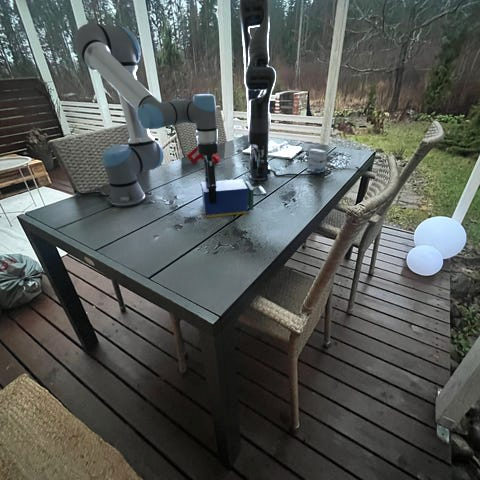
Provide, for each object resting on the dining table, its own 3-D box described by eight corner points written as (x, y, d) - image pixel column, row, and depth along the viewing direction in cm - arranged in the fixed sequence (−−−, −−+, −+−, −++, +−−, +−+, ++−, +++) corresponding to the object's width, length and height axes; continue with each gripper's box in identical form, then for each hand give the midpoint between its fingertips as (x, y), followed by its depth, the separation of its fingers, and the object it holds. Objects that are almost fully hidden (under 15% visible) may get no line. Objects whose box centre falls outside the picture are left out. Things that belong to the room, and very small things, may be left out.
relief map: (291, 159, 177) (291, 151, 174) (243, 153, 190) (243, 145, 187) (302, 149, 197) (303, 142, 194) (258, 144, 211) (258, 137, 208)
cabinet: (241, 202, 122) (241, 178, 116) (247, 213, 113) (247, 188, 107) (203, 206, 119) (201, 182, 113) (205, 217, 110) (203, 192, 104)
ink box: (324, 171, 156) (327, 150, 149) (319, 173, 153) (323, 152, 146) (310, 168, 160) (313, 148, 154) (306, 170, 157) (309, 149, 151)
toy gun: (223, 158, 167) (209, 137, 163) (221, 160, 164) (206, 138, 160) (204, 173, 177) (189, 154, 173) (201, 175, 174) (186, 155, 170)
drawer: (260, 199, 122) (261, 180, 117) (266, 208, 114) (267, 188, 109) (212, 203, 118) (210, 184, 113) (214, 213, 110) (213, 193, 105)
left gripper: (195, 135, 108) (199, 187, 120) (199, 150, 89) (205, 210, 101) (213, 134, 110) (216, 186, 122) (222, 149, 90) (224, 208, 102)
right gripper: (244, 126, 106) (244, 167, 115) (253, 134, 95) (252, 178, 103) (263, 126, 108) (261, 166, 116) (273, 133, 96) (271, 177, 105)
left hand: (211, 197), depth 111 cm, fingers closed on cabinet, 11 cm apart
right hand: (257, 172), depth 110 cm, fingers open, 8 cm apart
